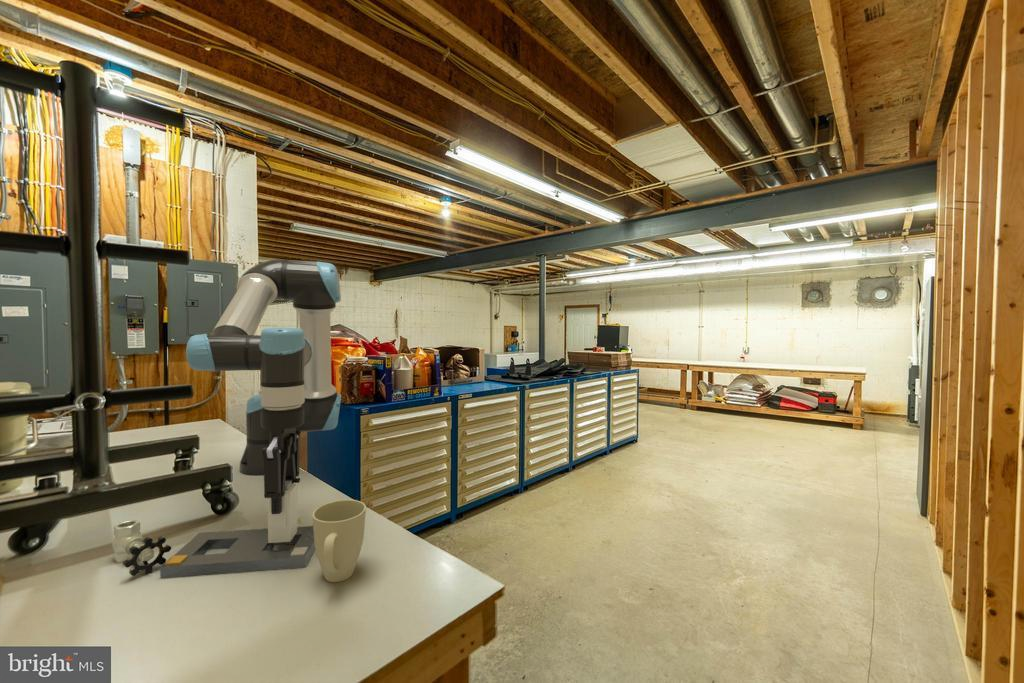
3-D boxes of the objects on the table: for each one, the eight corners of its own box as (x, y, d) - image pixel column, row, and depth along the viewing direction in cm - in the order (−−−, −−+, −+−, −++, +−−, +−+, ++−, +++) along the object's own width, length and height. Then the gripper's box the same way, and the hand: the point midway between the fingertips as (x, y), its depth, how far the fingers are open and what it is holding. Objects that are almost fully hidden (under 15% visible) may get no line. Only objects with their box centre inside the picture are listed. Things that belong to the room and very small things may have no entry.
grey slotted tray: (199, 542, 84) (199, 531, 84) (323, 534, 88) (323, 524, 88) (160, 578, 72) (160, 565, 72) (305, 567, 76) (305, 555, 76)
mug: (298, 576, 73) (298, 512, 73) (350, 554, 81) (351, 495, 80) (325, 605, 66) (326, 534, 66) (380, 577, 74) (381, 513, 73)
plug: (276, 532, 83) (276, 479, 82) (297, 531, 84) (297, 478, 83) (268, 543, 79) (267, 487, 78) (290, 541, 80) (290, 486, 79)
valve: (100, 562, 76) (125, 584, 70) (99, 528, 76) (124, 547, 70) (144, 546, 82) (171, 565, 76) (144, 514, 82) (171, 530, 76)
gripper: (279, 397, 88) (279, 503, 89) (241, 416, 71) (241, 546, 72) (316, 397, 89) (315, 501, 90) (287, 416, 72) (287, 543, 73)
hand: (283, 521), depth 81 cm, fingers closed on plug, 4 cm apart
